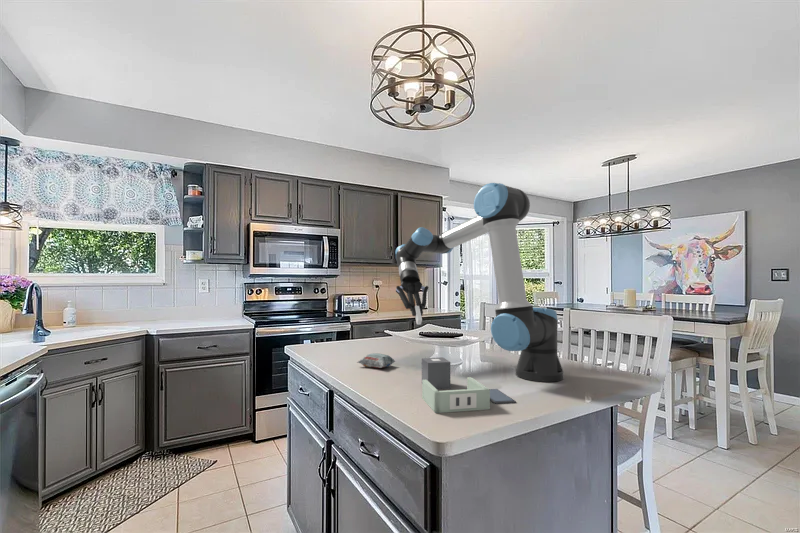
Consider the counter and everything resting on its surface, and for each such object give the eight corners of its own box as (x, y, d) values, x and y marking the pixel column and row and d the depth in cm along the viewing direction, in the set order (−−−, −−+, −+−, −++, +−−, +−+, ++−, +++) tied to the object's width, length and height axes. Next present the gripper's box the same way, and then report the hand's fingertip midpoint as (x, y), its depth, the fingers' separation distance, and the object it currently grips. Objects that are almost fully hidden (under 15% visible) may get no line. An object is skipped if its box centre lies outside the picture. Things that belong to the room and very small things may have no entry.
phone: (496, 392, 115) (496, 388, 115) (516, 405, 103) (515, 400, 103) (477, 393, 114) (477, 389, 114) (494, 406, 102) (494, 402, 102)
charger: (443, 382, 123) (443, 357, 124) (450, 388, 117) (450, 361, 117) (421, 383, 122) (421, 357, 122) (427, 390, 115) (427, 362, 115)
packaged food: (382, 371, 138) (382, 357, 138) (356, 367, 144) (356, 354, 144) (395, 367, 145) (395, 354, 145) (370, 363, 151) (370, 350, 152)
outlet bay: (471, 394, 110) (471, 377, 110) (490, 409, 98) (490, 389, 98) (422, 398, 107) (422, 379, 107) (435, 413, 95) (435, 392, 95)
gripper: (423, 282, 159) (434, 328, 142) (391, 281, 156) (400, 329, 140) (426, 268, 154) (439, 315, 137) (394, 268, 151) (403, 315, 135)
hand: (419, 322), depth 139 cm, fingers closed
